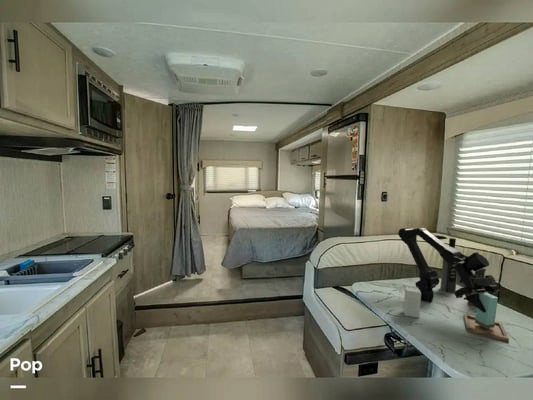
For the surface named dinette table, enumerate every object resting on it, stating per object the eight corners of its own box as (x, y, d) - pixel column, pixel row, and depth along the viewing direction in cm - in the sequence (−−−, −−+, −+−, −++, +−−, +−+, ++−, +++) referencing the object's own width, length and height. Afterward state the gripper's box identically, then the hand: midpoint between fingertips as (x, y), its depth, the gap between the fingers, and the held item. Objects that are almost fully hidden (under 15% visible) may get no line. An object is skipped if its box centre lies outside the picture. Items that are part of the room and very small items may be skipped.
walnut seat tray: (466, 331, 108) (467, 327, 108) (463, 317, 119) (463, 313, 119) (508, 342, 101) (509, 338, 101) (500, 326, 112) (501, 322, 112)
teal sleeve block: (485, 328, 107) (489, 298, 106) (474, 322, 111) (478, 293, 110) (494, 327, 108) (497, 297, 107) (483, 321, 112) (486, 292, 111)
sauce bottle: (464, 301, 134) (468, 264, 132) (475, 301, 134) (479, 264, 132) (475, 308, 127) (480, 269, 125) (487, 307, 128) (491, 268, 126)
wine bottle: (456, 292, 144) (461, 239, 141) (446, 292, 144) (451, 239, 141) (449, 288, 150) (454, 237, 147) (439, 287, 150) (444, 237, 147)
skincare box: (417, 313, 121) (419, 288, 120) (419, 318, 117) (421, 292, 116) (402, 311, 123) (404, 286, 122) (404, 315, 119) (406, 290, 118)
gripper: (463, 269, 109) (487, 307, 100) (497, 267, 113) (524, 303, 104) (445, 280, 118) (465, 316, 108) (477, 277, 122) (500, 311, 112)
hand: (489, 311), depth 108 cm, fingers closed on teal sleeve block, 4 cm apart
